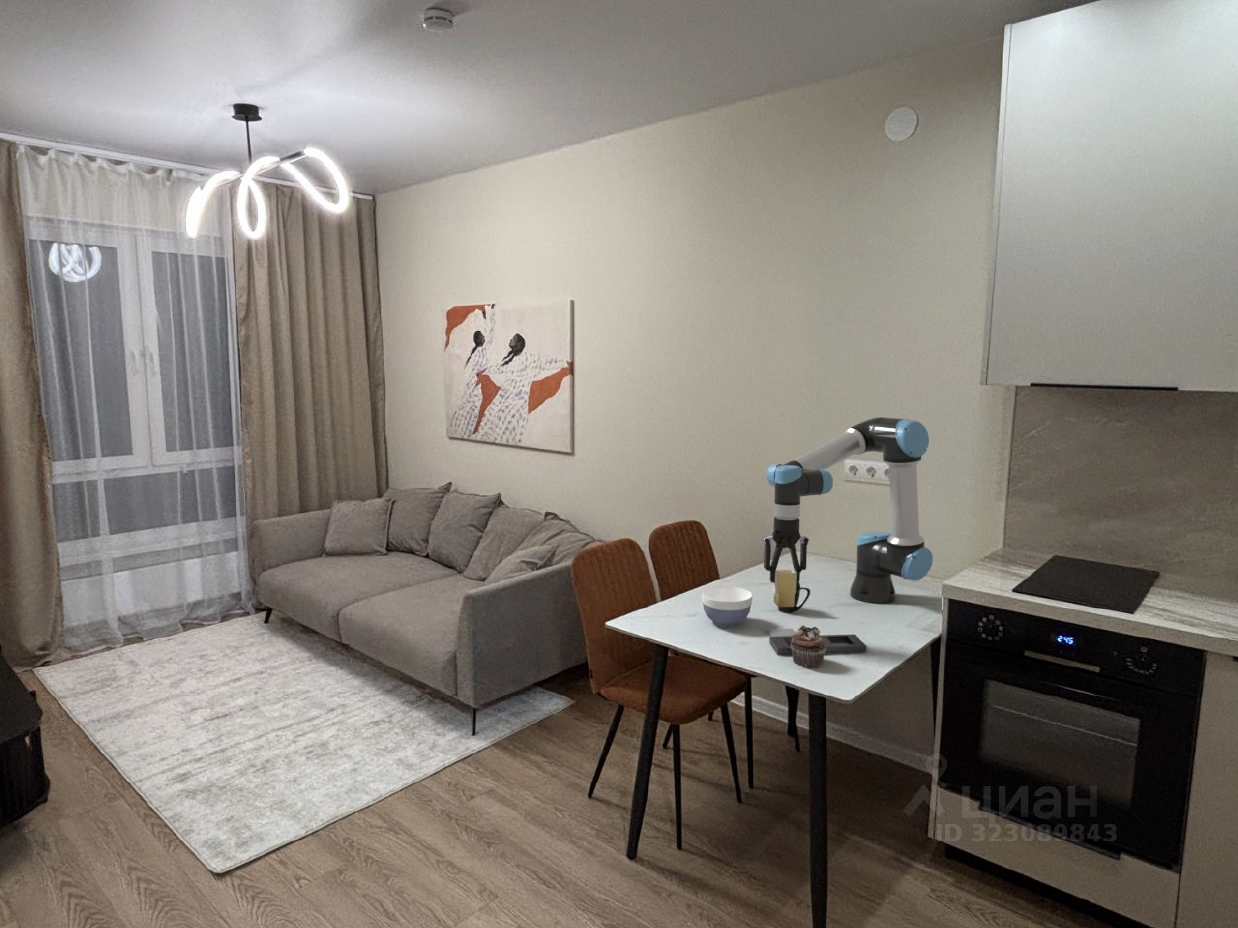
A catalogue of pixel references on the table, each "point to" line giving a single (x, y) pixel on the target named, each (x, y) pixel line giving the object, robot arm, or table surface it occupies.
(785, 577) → the tan wooden peg
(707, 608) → the bowl
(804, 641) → the cupcake
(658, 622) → the table surface
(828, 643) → the dark grey peg board
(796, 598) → the mug
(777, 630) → the pad
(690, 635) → the table surface
